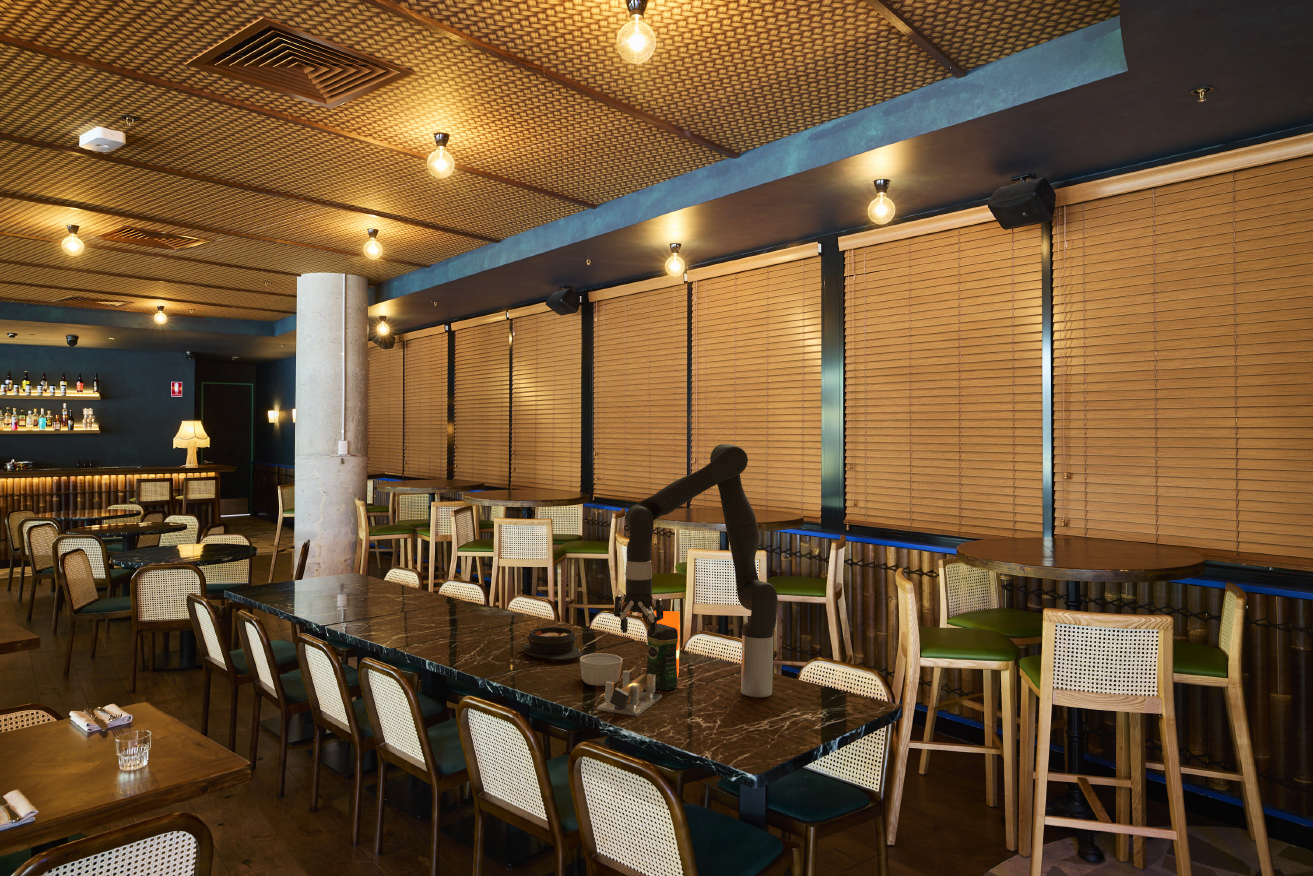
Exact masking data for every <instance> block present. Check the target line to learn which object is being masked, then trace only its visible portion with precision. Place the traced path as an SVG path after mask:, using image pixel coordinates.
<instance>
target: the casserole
mask: <svg viewBox="0 0 1313 876" xmlns="http://www.w3.org/2000/svg"><path fill="white" fill-rule="evenodd" d="M526 640H527V641H528V643H525V644H523V645H521V649H522V650H523V651H524V653H525V654H526V655H528V656H531V657H534V658H537V659H540V660H545V661H564V660H571V659H577V658H581V657H582V656H584V653H583V652H582V651H580V650H579V648H578V647H576V646H575V642H576V640H577V636H576V635H575V632H574V630H572V629H570V628H566V627H557V626H548V627H540V628H534V629H532V630H530V632H529V635H528V636H527V637H526Z"/></svg>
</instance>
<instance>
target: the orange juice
mask: <svg viewBox="0 0 1313 876" xmlns="http://www.w3.org/2000/svg"><path fill="white" fill-rule="evenodd" d="M653 611H654V613H655V615H656V610H653ZM659 623H661V624H663V625H667V626H670V627H674V628H676V629H677V630H678V642H677V649H676V658H677V679H678V678H679V671H680V669H679V668H680V633H681V632H680V626H681V625H680V611H673V610H671V611H670V610H669V611H665V610H663V619H661V620H660V621H657V624H659Z"/></svg>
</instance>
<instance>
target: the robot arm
mask: <svg viewBox="0 0 1313 876" xmlns="http://www.w3.org/2000/svg"><path fill="white" fill-rule="evenodd" d="M748 461H749V458H748V454H747V452H746V451H745V450H744V449H743V448H742V447H741V446H738V445H735V444H729V443H720V444H717V445H715V447H714V448H713V449H712V451H711V453H710V457H709V463H707V465H705V466H703V467H701V468H699V469H698V470H697V471H694V472H693V473H690V474H687V475H685V476H683V477H681V478H678V479H677V480H675V481H673V482H671V483H670V484H668V485H666V486H665V487H663V488H661V489H660V490H658V491H657V492H656V493H654V494H653V495H651V496H649V497H647V498H644V499H643V500H641V501H639V502H636V503H635V504H634V505H632V506H631V507H629V508H628V509H627V511H626V512H625V516H624V520H625V524H626V525H627V526H628V528H629V530H628V532H629V534H628V539H629V540H628V541H627V543H626V562H625V563H626V564H625V572H624V576H625V596H624V595H622V594H618V595H616V596H615V597H614V610H613V616H614V617H615V618H619V620H620V631H622V632H621V633H622V634H625V633H627V632H628V622H629V620H628V617H629V615H630V613H631V612H632V613H634V614H635V613H638V614H644V615H645V617H647V618H648V619H649V626H650V635H651V636H653V635H655V633H656V632H657V621H660V620H661V619H663V611H664V601H663V598H662V597H658V598H653V594H652V593H653V565H652V540H653V536H654V535H653V534H654V523H655V522H654V521H655V520H657V519H659V518H661V517H663V516H666V515H670V514H671V513H672V512H674V511H676V510H677V509H679V508H680V507H682V506H683V505H684V504H686V503H688V502H689V501H691V500H692V499H694V498H695V497H697V496H698V495H701V494H702V493H705V491H707V490H709V489H711V488H713V487H715V486H716V485H717V488H718V492H719V498H720V503H721V509H722V514H723V519H724V526H725V531H726V535H727V538H728V542H729V546H730V553H731V558H732V561H733V566H734V574H735V576H734V577H735V584H736V595H737V598H738V601H739V604H740V605H741V606H742V608H744V609H746V610H748V611H750V612H751V613H750V620H749V622H744V624H742V629H741V668H740V669H741V671H740V672H741V676H740V677H741V678H740V693H741V694H742V695H743V696H747V697H752V698H766V697H770V696H771V695H773V673H774V671H773V669H774V667H773V666H774V665H773V663H774V660H773V659H774V630H775V628H776V625H777V617H778V603H779V602H778V601H779V600H778V592H777V589H776V588H775V586H774V585H773V584H771V583H769V582H766V581H763V580H760V579H759V575H758V571H757V567H756V557H757V556H756V554H757V550H758V546H759V542H760V533H759V527H758V523H757V518H756V514H755V512H754V510H753V507H752V504H751V503H750V500H749V499H748V497H747V495H746V493H745V490H744V487H743V483H742V479H741V474H742V473H743V472H744V471H745V470H746V468H747V466H748V463H749V462H748ZM624 602H625V604H626V607H625V608H624V610H623V607H622V606H623V603H624ZM652 605H654V607H655V610H654V609H653V608H652ZM622 610H623V611H622ZM654 611H656V615H655V613H654Z"/></svg>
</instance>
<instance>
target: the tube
mask: <svg viewBox="0 0 1313 876" xmlns="http://www.w3.org/2000/svg"><path fill="white" fill-rule="evenodd" d="M631 685H638V686H639V694H640V693H641V692H643V691H644V690H645V691H647V674H646V673H643V674H641V675H640V676H638V677H636V678H635V679H634V680H631V682H630V683H629V684H627V685H626V686H624V687H623V686H622V688H619V687H614V692H613V695H612V698H611V701H610V703H612V704H613V705H615V706H617V707H619V708H621V709H624V708H625V707H626V704H627V702H629V701H630V686H631Z"/></svg>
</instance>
